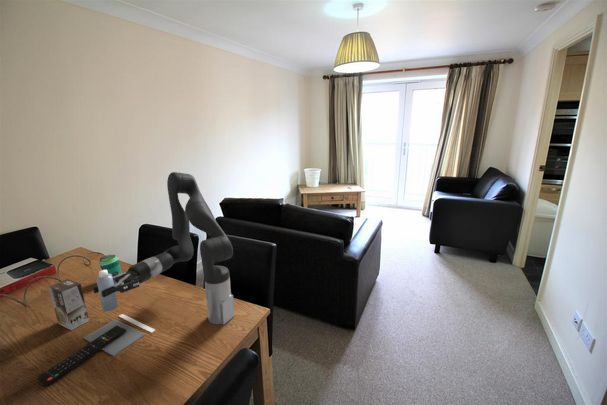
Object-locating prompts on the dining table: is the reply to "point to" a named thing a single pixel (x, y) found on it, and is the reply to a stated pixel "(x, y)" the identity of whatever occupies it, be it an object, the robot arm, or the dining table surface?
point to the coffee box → (69, 303)
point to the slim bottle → (103, 283)
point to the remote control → (79, 356)
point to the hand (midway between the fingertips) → (98, 292)
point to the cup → (110, 264)
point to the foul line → (136, 323)
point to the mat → (119, 342)
